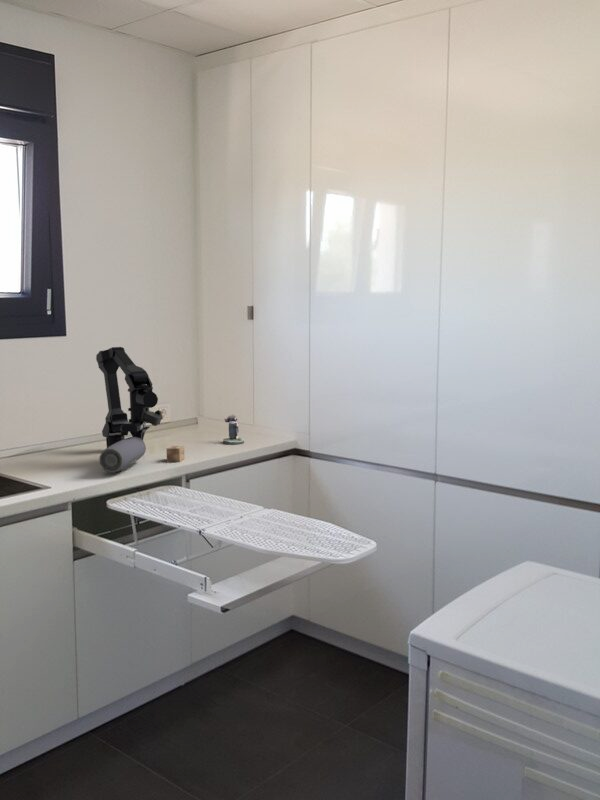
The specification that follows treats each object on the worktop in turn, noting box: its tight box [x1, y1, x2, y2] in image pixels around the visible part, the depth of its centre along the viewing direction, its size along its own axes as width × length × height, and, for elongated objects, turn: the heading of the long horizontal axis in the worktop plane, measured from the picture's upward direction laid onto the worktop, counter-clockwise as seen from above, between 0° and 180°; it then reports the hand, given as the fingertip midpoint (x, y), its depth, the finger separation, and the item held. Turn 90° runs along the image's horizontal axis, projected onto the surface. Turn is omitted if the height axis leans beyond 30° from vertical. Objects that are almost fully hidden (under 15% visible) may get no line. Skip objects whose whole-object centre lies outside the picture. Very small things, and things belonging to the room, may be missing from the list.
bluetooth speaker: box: [98, 436, 147, 473], centre depth 280 cm, size 23×9×10 cm, turn 171°
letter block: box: [165, 445, 186, 463], centre depth 293 cm, size 5×5×5 cm
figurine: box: [222, 414, 245, 446], centre depth 325 cm, size 8×8×12 cm
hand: (139, 446), depth 293 cm, fingers closed
